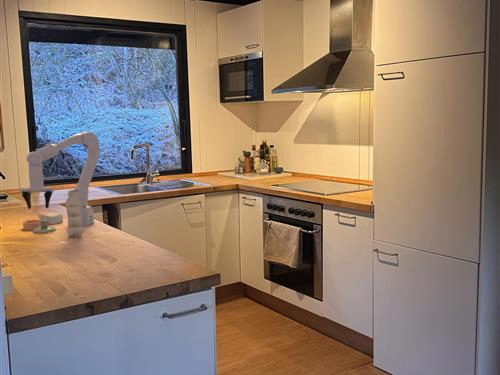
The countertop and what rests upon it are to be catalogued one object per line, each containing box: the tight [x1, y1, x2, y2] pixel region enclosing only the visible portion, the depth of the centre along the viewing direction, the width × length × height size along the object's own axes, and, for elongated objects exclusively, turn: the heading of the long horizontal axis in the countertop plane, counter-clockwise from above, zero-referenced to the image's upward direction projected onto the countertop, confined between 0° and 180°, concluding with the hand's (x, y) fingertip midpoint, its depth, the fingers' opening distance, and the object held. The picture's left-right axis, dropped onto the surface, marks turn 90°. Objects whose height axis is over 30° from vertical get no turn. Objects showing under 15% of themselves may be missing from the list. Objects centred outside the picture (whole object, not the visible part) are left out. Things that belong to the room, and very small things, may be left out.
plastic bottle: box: [64, 189, 84, 238], centre depth 222 cm, size 6×7×20 cm
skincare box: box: [38, 211, 64, 225], centre depth 254 cm, size 6×4×12 cm
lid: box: [33, 220, 56, 234], centre depth 234 cm, size 9×9×5 cm
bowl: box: [22, 219, 41, 231], centre depth 241 cm, size 8×8×4 cm
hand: (38, 208), depth 238 cm, fingers open, 7 cm apart
